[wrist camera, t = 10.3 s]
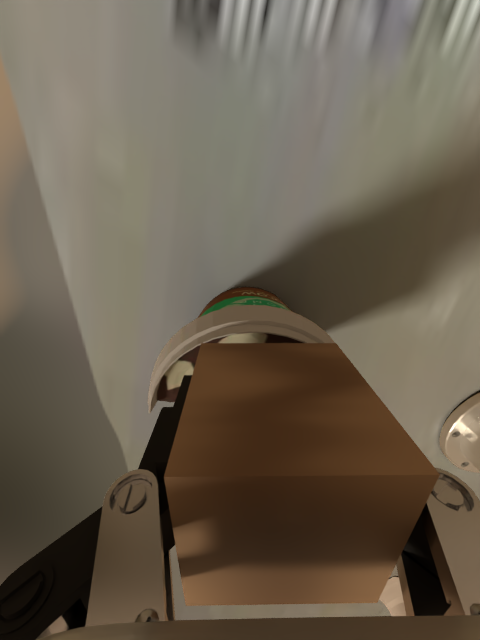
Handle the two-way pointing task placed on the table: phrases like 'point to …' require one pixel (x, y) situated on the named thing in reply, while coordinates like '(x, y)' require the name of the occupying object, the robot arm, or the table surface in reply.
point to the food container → (229, 334)
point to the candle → (393, 597)
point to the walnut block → (289, 479)
